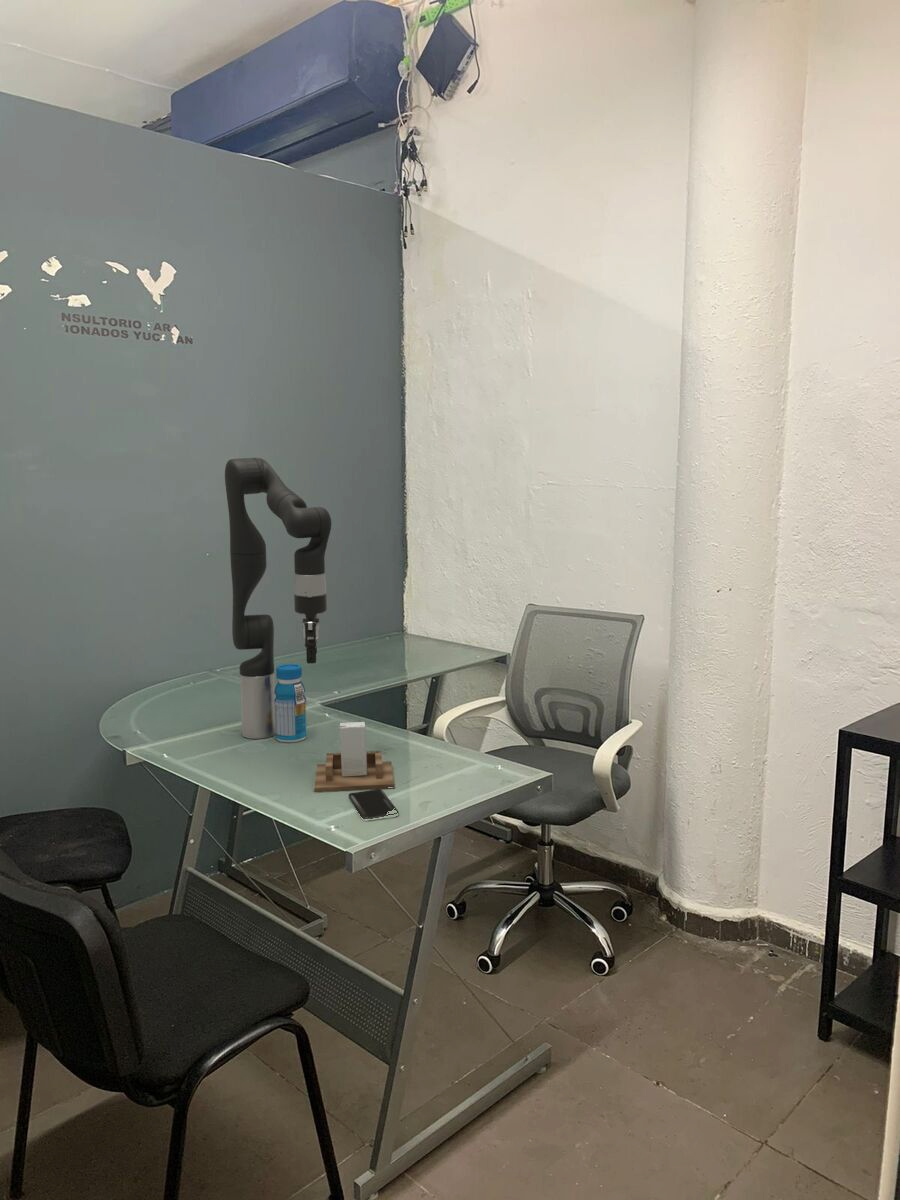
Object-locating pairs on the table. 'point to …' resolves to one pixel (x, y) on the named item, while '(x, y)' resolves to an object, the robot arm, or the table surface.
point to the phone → (371, 804)
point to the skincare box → (353, 749)
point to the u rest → (334, 781)
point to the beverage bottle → (290, 704)
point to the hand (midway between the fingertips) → (311, 658)
